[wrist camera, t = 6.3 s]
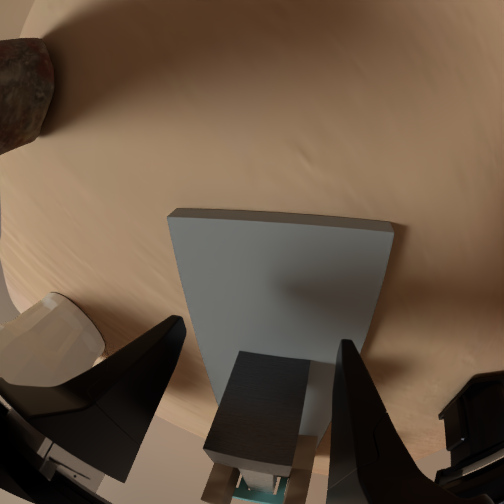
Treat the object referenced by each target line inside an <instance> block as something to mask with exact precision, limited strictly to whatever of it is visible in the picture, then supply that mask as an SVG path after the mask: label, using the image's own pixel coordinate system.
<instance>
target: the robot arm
mask: <svg viewBox="0 0 504 504" xmlns="http://www.w3.org/2000/svg"><path fill="white" fill-rule="evenodd" d="M185 337H186V327H185V324H184V320H183V318H182V317H181V316H177V315H171V316H170V317H168V318H167V319H165V320H164V321H162V322H161V323H159V324H158V325H156V326H155V327H153V328H152V329H150V330H149V331H147V332H146V333H144V334H143V335H141V336H140V337H138V338H137V339H135V340H134V341H132V342H131V343H129V344H128V345H126V346H125V347H123V348H122V349H120V350H119V351H117V352H116V353H114V354H112V355H111V356H109V357H108V359H107V358H106V359H105V360H103V361H102V362H100V363H99V364H97V365H95V366H94V367H92V368H91V369H89V370H87V371H85V372H83V373H82V374H80V375H78V376H76V377H74V378H72V379H70V380H68V381H66V382H64V383H62V384H60V385H57V386H53V387H40V386H24V385H14V384H10V383H8V382H6V381H5V380H4V379H3V378H2V377H0V395H1V397H2V398H3V399H4V400H5V401H6V402H7V403H8V404H9V405H10V406H11V409H9V408H8V407H6V406H5V405H4V404H3V403H2V402H1V401H0V488H1V489H3V490H5V491H7V492H9V493H12V494H14V495H16V496H18V497H20V498H23V499H25V500H27V501H30V502H32V503H35V504H112V503H111V502H109V501H107V500H105V499H104V498H102V497H100V496H99V495H97V494H96V491H97V489H98V487H99V485H100V483H101V481H102V480H103V478H104V476H105V474H106V475H108V476H110V477H112V478H114V479H116V480H118V481H120V482H122V483H125V481H126V479H127V477H128V474H129V472H130V469H131V467H132V465H133V462H134V460H135V458H136V455H137V453H138V451H139V448H140V445H141V443H142V441H143V439H144V436H145V434H146V432H147V430H148V427H149V425H150V423H151V421H152V418H153V416H154V414H155V412H156V409H157V407H158V405H159V403H160V400H161V398H162V396H163V394H164V392H165V389H166V387H167V385H168V383H169V380H170V378H171V376H172V374H173V372H174V369H175V367H176V364H177V362H178V359H179V355H180V352H181V349H182V346H183V343H184V340H185ZM438 416H439V420H442V419H444V425H445V436H446V449H447V451H450V452H451V467H449V468H446V469H441V470H439V471H437V473H436V477H435V481H434V482H433V481H432V480H430V479H429V478H427V477H426V476H425V475H424V474H423V473H422V472H421V471H420V470H419V468H418V467H417V466H416V464H415V462H414V460H413V459H412V457H411V455H410V454H409V452H408V450H407V449H406V447H405V445H404V444H403V442H402V440H401V439H400V437H399V435H398V433H397V432H396V430H395V428H394V426H393V423H392V421H391V419H390V417H389V415H388V413H387V412H386V408H385V406H384V404H383V402H382V400H381V398H380V395H379V393H378V391H377V389H376V387H375V385H374V383H373V381H372V379H371V377H370V374H369V372H368V370H367V368H366V366H365V364H364V362H363V360H362V358H361V356H360V354H359V352H358V350H357V348H356V346H355V344H354V342H353V341H352V340H351V339H341V341H340V344H339V348H338V352H337V357H336V366H335V374H334V382H333V391H332V426H331V449H330V465H329V478H328V490H327V499H326V504H504V457H503V458H501V459H499V460H497V461H495V462H493V463H492V464H489V465H487V466H485V467H483V468H481V469H479V470H476V471H474V472H472V473H469V474H467V475H465V476H462V475H463V474H465V473H468V472H470V471H472V470H475V469H477V468H479V467H481V466H483V465H485V464H488V463H490V462H492V461H494V460H496V459H498V458H499V457H501V456H503V455H504V375H500V376H493V377H486V378H479V379H473V380H471V381H469V382H468V383H467V385H466V386H465V387H464V388H463V389H462V390H461V392H460V393H459V394H458V395H457V396H456V397H455V398H454V399H453V400H452V401H451V402H450V404H449V405H448V406H447V407H446V408H445V409H444V410H443V411H442V412H441V413H440V414H439V415H438Z"/></svg>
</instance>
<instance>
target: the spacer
mask: <svg viewBox="0 0 504 504" xmlns="http://www.w3.org/2000/svg"><path fill="white" fill-rule="evenodd" d="M287 480H288V478H284V477H281V479H280V483H279V487H278V490H277V494H276V495H273V494H267V493H261V492H256V491H250V490H248V488H249V487H248V485H247V483H246V482H245V480H244V478H243V476H242V478H241V481H240V485H239V488H235V491H234V494H233V497H232V498H237V499H241V500H246V501H251V502H256V503H261V504H282V503H283V500H284V492H285V488H286V484H287Z"/></svg>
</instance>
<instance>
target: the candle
mask: <svg viewBox="0 0 504 504" xmlns="http://www.w3.org/2000/svg"><path fill="white" fill-rule="evenodd" d="M54 88H55V83H54V68H53V65H52V63H51V61H50V58H49V53H48V51H47V48H46V46H45V43H44V42H43V41H42V39H39V38H19V39H10V40H1V41H0V155H1V154H4V153H6V152H8V151H10V150H13V149H15V148H18V147H20V146H23V145H25V144H28V143H31V142H33V141H34V140H36V138H37V137H38V135H39V133H40V131H41V125H42V123H43V121H44V119H45V116H46V113H47V111H48V107H49V104H50V102H51V98H52V95H53V93H54Z"/></svg>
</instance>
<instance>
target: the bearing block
mask: <svg viewBox="0 0 504 504" xmlns="http://www.w3.org/2000/svg"><path fill="white" fill-rule="evenodd" d="M317 439H318V436H309V435H298V440H297V445H296V450H295V454H294V459H293V464H292V468H291V471H290V474H289V477H286V476H279V475H277V477H284V478H289V480H288V484H287V488H286V492H285V496H284V500H283V503H282V504H305V502H306V497H307V493H308V488H309V483H310V478H311V473H312V468H313V462H314V457H315V451H316V445H317ZM239 476H240V471H239V469H238V468H235V467H231V466H227V465H223V464H219V463H215V462H214V465H213V468H212V471H211V473H210V476H209V479H208V481H207V484H206V487H205V489H204V492H203V495H202V497H201V500H203V501H205V502H208V503H210V504H230V503H231V500H232V497H233V494H234V491H235V488H236V485H237V482H238V478H239Z"/></svg>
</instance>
